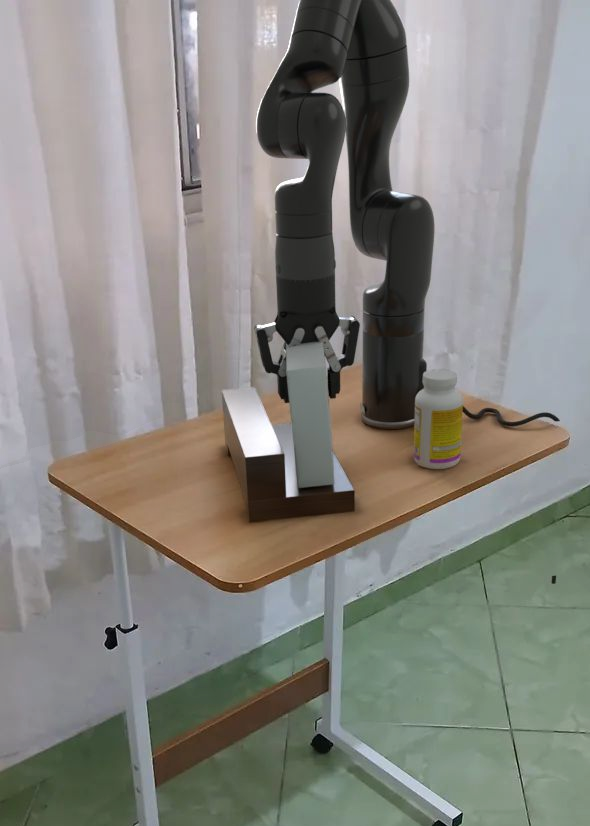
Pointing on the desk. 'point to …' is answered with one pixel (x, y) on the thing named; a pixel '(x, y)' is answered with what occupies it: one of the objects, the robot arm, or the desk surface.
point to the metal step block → (274, 464)
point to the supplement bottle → (438, 420)
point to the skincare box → (310, 414)
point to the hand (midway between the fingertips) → (309, 398)
